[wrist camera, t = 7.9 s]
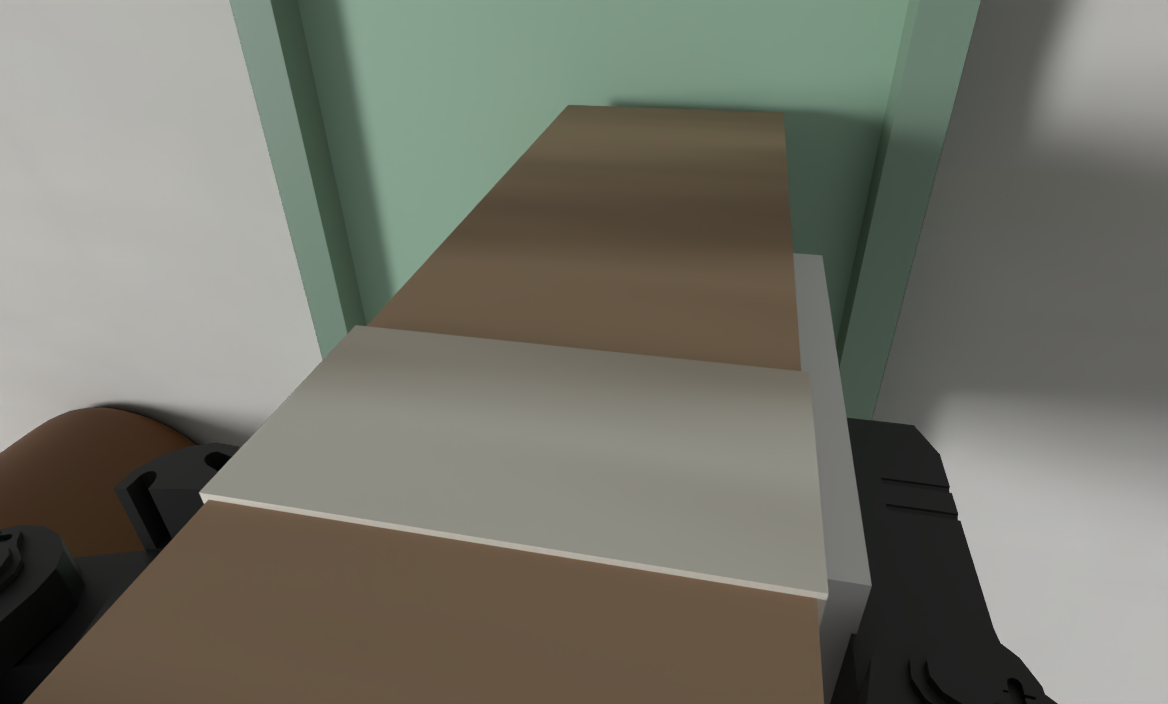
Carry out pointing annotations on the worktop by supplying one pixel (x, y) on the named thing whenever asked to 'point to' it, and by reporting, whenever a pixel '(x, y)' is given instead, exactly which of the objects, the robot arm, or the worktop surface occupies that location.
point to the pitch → (599, 78)
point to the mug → (81, 476)
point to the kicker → (524, 462)
